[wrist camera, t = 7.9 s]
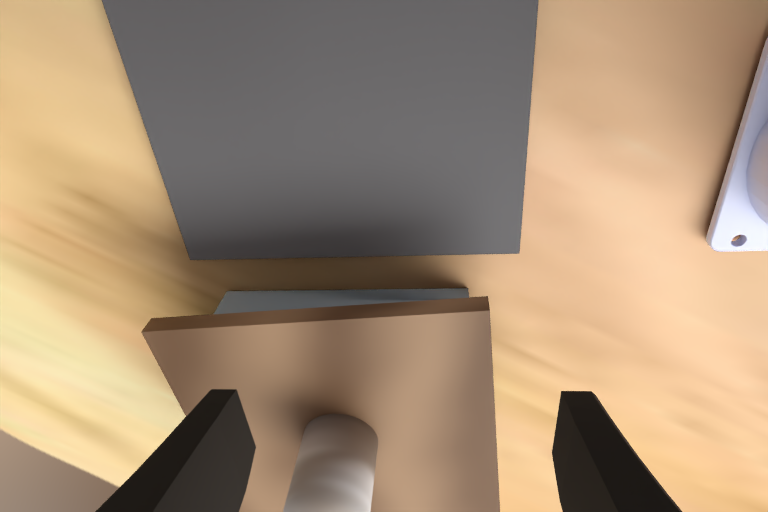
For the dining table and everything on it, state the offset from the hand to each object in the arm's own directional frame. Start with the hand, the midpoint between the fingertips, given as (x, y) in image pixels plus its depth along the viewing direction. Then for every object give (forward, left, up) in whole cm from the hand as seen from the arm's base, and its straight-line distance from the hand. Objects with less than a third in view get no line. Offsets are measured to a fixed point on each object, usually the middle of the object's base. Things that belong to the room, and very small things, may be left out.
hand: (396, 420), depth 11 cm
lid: (+3, +9, -7) cm, 12 cm away
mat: (+3, -5, -10) cm, 12 cm away
